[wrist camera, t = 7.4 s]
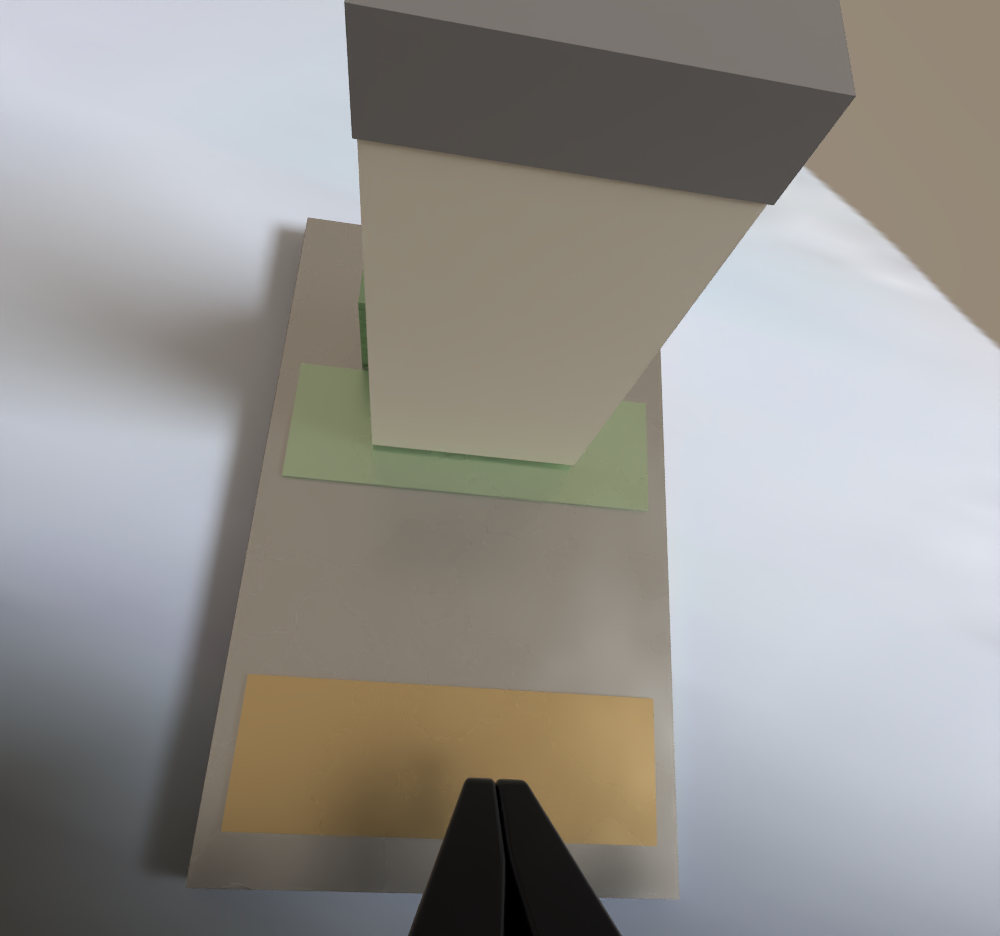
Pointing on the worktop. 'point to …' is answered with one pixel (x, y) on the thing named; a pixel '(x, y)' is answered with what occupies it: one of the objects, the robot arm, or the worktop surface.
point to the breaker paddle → (562, 194)
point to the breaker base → (437, 635)
